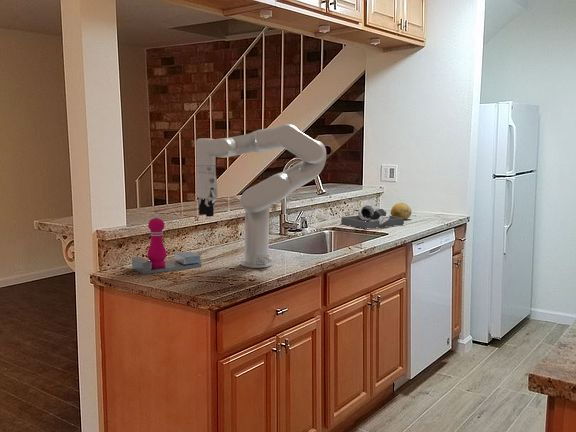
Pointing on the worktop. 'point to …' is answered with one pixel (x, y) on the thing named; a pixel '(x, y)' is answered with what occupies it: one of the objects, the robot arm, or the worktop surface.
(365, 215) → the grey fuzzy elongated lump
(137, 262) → the vise
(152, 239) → the pepper mill
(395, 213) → the potato
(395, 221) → the bucket tray
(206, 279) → the worktop surface
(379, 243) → the worktop surface
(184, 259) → the jaw
